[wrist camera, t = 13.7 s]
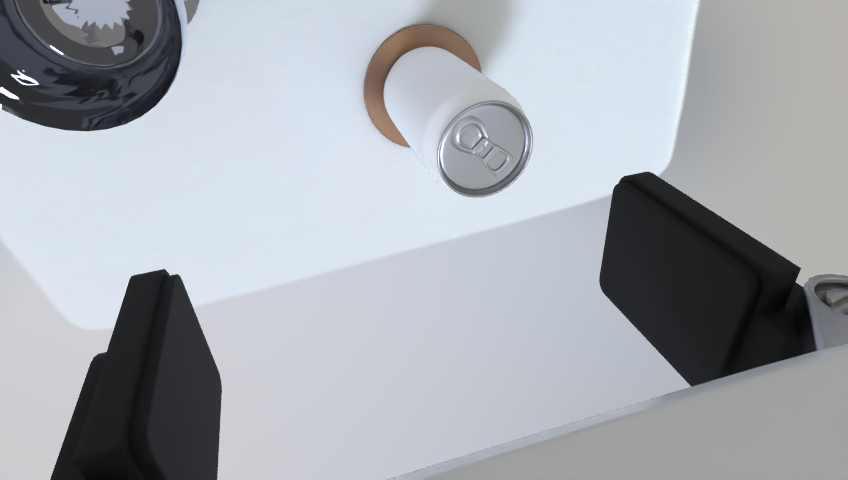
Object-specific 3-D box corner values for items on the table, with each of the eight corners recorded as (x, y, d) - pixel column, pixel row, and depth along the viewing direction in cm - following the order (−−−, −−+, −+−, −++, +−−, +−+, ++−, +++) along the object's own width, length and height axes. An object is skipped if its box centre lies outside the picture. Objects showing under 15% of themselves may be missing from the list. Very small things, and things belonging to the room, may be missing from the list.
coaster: (355, 32, 35) (356, 33, 35) (480, 17, 37) (482, 18, 37) (371, 155, 40) (372, 157, 40) (480, 136, 42) (482, 138, 41)
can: (422, 24, 36) (488, 66, 26) (483, 83, 39) (561, 140, 29) (363, 98, 37) (405, 164, 27) (426, 148, 41) (483, 223, 31)
